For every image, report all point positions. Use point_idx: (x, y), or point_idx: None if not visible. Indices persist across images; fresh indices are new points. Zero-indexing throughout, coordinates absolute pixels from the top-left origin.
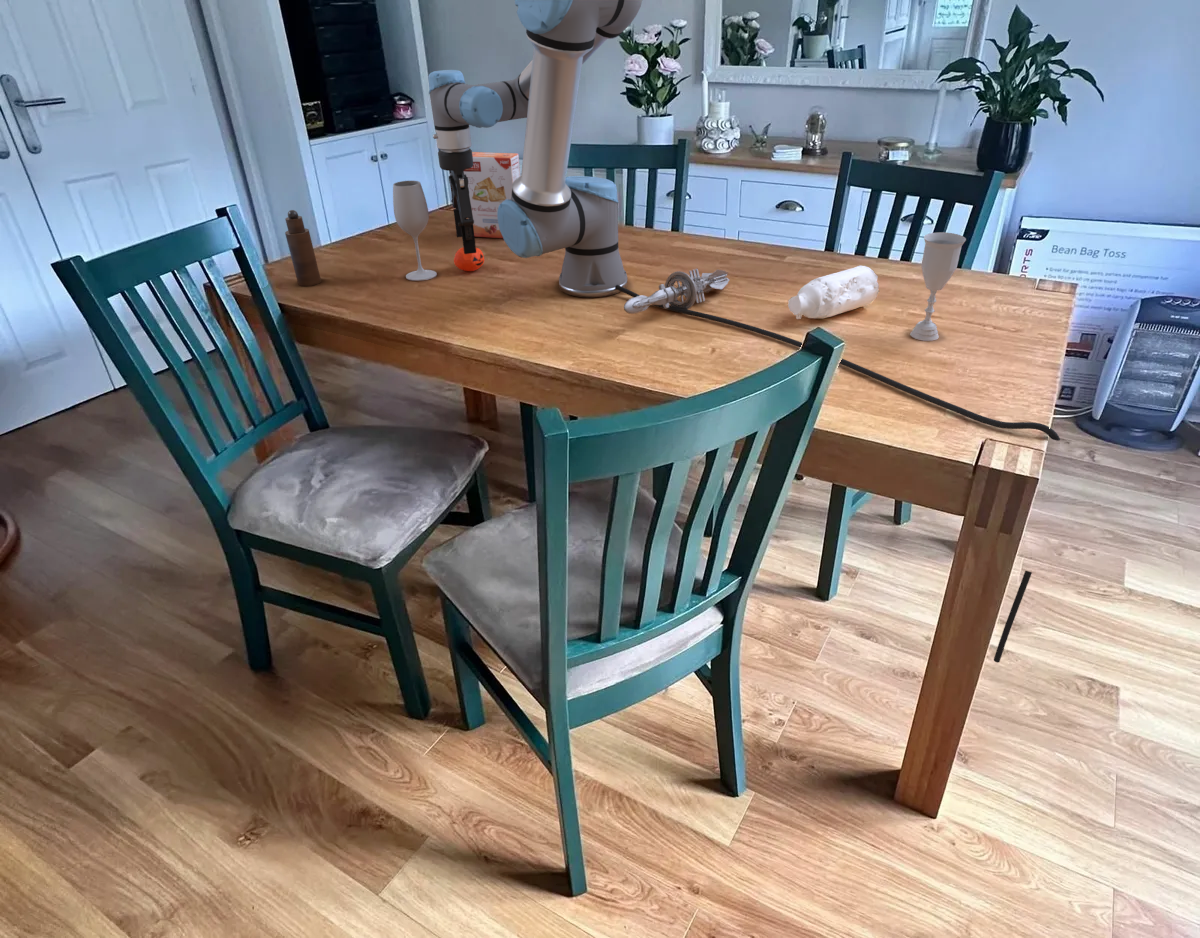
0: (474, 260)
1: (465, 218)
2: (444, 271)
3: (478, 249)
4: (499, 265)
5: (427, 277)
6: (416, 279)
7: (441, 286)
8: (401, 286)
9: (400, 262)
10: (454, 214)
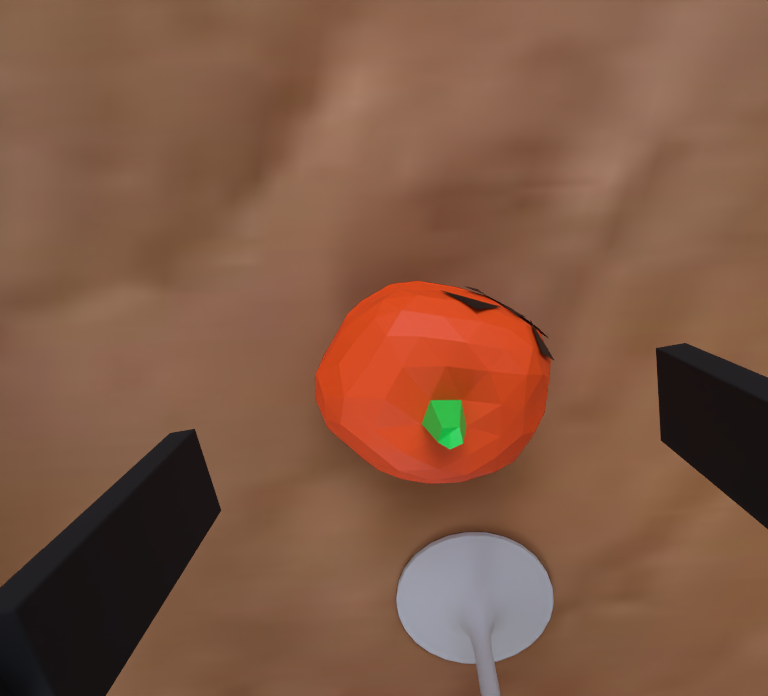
0: (544, 348)
1: (106, 527)
2: (425, 497)
3: (425, 330)
4: (378, 183)
5: (536, 574)
6: (547, 618)
7: (675, 499)
8: (607, 666)
9: (241, 693)
10: (113, 681)
